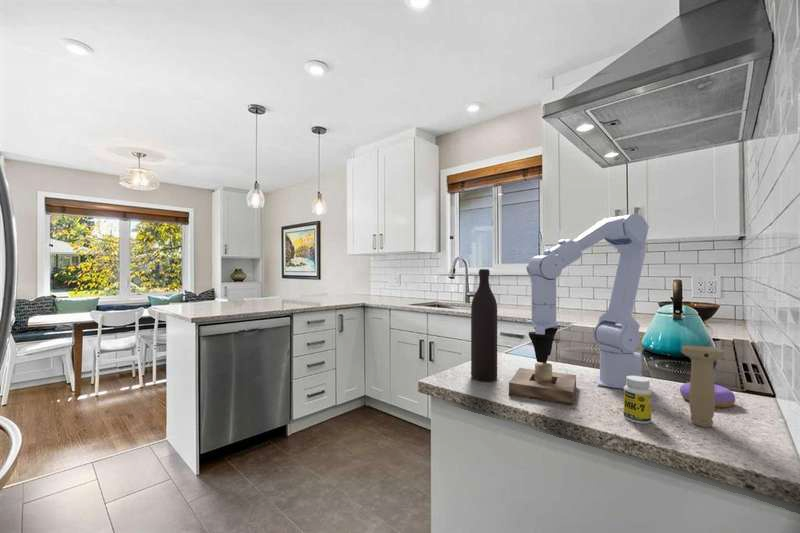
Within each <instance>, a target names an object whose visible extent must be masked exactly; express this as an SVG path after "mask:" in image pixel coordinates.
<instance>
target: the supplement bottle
mask: <svg viewBox="0 0 800 533" xmlns="http://www.w3.org/2000/svg"><path fill="white" fill-rule="evenodd" d="M626 384H627V385H625V386H624V389H623V413H622V414H623V417H624V419H625V420H627V421H629V422H631V423H635V424H640V425H641V424H643V425H645V424H649V423H651V422H652V394H653V393H652V391H651V389H650V379H649V378H646V377H643V376H642V377H640V376H627V377H626Z"/></svg>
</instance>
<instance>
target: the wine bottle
mask: <svg viewBox="0 0 800 533" xmlns="http://www.w3.org/2000/svg"><path fill="white" fill-rule="evenodd" d="M490 274H491V273H490V269H489V268H480V269H479V270H478V276H479V281H478V288H477V290H476V292H475V293H474V296H473V298H472V300H471V307H470V313H471V314H470V340H471V341H470V375H471V376H470V377H471V378H472V379H474V380H476V381H479V382H492V381H496V380H497V379H498V304H497V300H496V297H495V294H494V293H493V291H492V289H491V286H490V280H489V279H490Z"/></svg>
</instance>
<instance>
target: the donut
mask: <svg viewBox="0 0 800 533" xmlns="http://www.w3.org/2000/svg"><path fill="white" fill-rule="evenodd" d="M714 388H715V408H729V407H731V406H732V405H734V404H735V402H736V396H735V394H734V392H733V391H731V390H730V389H729V388H727V387H724V386H721V385H718V384H715V383H714ZM689 389H690V381H689V382H686V383H682V385H681V386H680V387H679V392H680V395H681V396H682V398H684V399H685V400H686V401H688V402H689Z"/></svg>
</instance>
